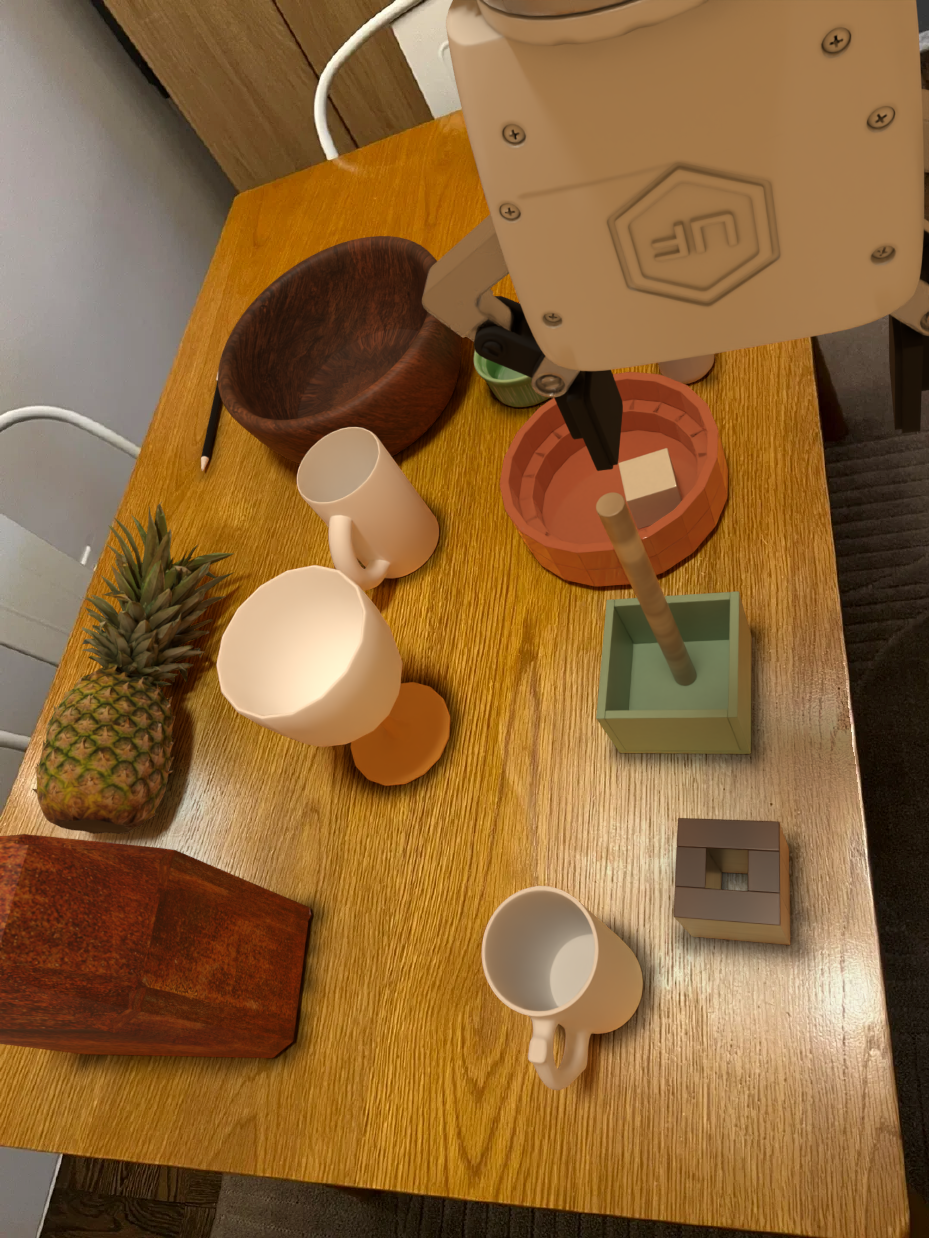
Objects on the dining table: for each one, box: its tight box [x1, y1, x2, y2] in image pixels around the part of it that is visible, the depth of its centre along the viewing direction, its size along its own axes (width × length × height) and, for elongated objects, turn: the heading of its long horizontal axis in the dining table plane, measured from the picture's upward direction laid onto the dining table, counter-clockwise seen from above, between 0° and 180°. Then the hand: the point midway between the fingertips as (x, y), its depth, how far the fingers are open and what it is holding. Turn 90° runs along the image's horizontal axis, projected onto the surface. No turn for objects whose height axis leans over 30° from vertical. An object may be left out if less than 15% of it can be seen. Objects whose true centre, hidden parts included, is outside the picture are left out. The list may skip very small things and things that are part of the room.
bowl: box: [499, 371, 729, 587], centre depth 74 cm, size 18×18×6 cm
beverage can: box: [657, 354, 715, 385], centre depth 76 cm, size 5×5×12 cm
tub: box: [595, 590, 752, 755], centre depth 64 cm, size 9×9×7 cm
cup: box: [216, 564, 451, 787], centre depth 67 cm, size 12×12×17 cm
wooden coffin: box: [0, 833, 312, 1059], centre depth 56 cm, size 10×19×35 cm, turn 87°
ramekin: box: [473, 350, 551, 408], centre depth 86 cm, size 9×9×4 cm
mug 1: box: [296, 427, 440, 592], centre depth 79 cm, size 8×12×12 cm
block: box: [619, 448, 682, 529], centre depth 73 cm, size 4×4×4 cm
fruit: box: [32, 501, 236, 835], centre depth 82 cm, size 14×12×30 cm
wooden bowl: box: [217, 235, 462, 465], centre depth 92 cm, size 25×25×10 cm
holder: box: [673, 817, 791, 946], centre depth 56 cm, size 6×6×6 cm
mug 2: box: [481, 885, 644, 1091], centre depth 54 cm, size 10×7×12 cm, turn 171°
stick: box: [596, 493, 696, 686], centre depth 58 cm, size 2×2×22 cm
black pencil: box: [200, 354, 222, 472], centre depth 105 cm, size 1×19×1 cm, turn 179°
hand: (748, 419), depth 31 cm, fingers open, 9 cm apart
